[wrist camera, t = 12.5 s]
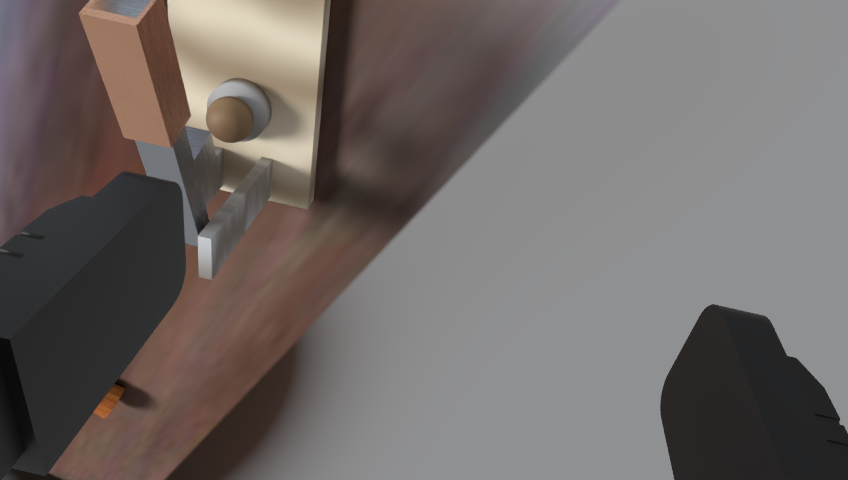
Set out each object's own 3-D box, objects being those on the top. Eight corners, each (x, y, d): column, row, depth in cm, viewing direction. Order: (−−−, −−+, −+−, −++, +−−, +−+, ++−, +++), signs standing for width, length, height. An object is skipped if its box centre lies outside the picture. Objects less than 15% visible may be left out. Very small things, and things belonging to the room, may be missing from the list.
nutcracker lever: (231, 206, 42) (205, 260, 39) (192, 198, 42) (163, 250, 39) (183, -31, 28) (138, 26, 26) (126, -43, 29) (76, 12, 26)
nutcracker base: (173, -127, 38) (44, -108, 28) (338, -92, 38) (268, -60, 28) (185, 170, 49) (97, 259, 39) (313, 199, 49) (256, 296, 39)
